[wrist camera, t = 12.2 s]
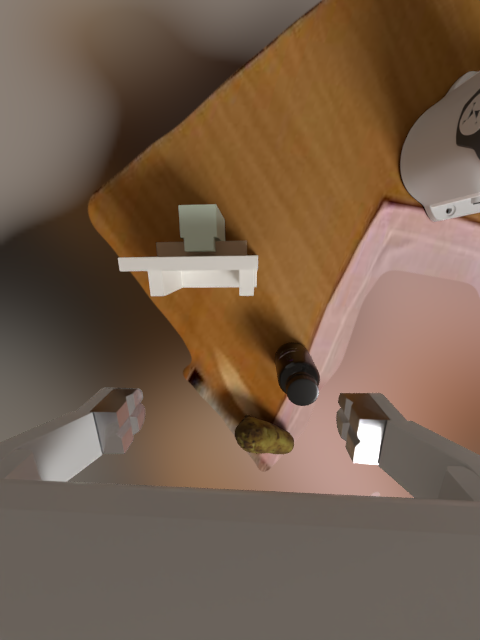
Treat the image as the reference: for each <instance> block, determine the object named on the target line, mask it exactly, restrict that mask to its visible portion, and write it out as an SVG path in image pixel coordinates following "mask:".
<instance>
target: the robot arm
mask: <svg viewBox="0 0 480 640" xmlns="http://www.w3.org/2000/svg"><path fill="white" fill-rule="evenodd" d="M400 169H401V176H402V180H403V183H404V185H405V187H406V189H407V191H408V192H409V193H410V194H411V196H412V197H414V198H415V199H416V200H417V201H419V202H420V203H421V204H422V205H423V206H424V208H425V210H426V212H427V215H428V217H429V218H430V219H431V220H432V221H434V222H438V221H442V220H447V219H452V218H456V217H461V216H466V215H470V214H475V213H480V71H479V72H475V71H470V72H468V73H466V74H464V75H463V76H462V77H460V78H459V79H458V80H457V81H456V82H455V83H454V85H453V86H452V87H451V88H450V90H449V91H448V93H447V94H446V95H445V97H444V98H442V99H441V100H440V101H439V102H437V103H436V104H435V105H433V106H432V107H430V108H429V109H428V110H427V111H426V112H424V113H423V114H422V115H421V116H420V118H419V119H418V120H417V121H416V122H415V124H414V125H413V127H412V128H411V130H410V132H409V134H408V135H407V138H406V140H405V142H404V145H403V149H402V153H401V160H400ZM447 209H448V213H446V210H447ZM142 399H143V395H142V391H141V390H140V389H133V388H102V389H101V390H100V391H99V392H97V393H96V394H95V395H94V396H93V397H92V398H91V399H89V400H88V401H87V402H86V403H85V404H84V405H82V406H81V407H80V408H79V409H78V410H77V411H76V412H70V413H67V414H65V415H63V416H60V417H58V418H56V419H53V420H51V421H49V422H46V423H44V424H42V425H40V426H37V427H35V428H32V429H30V430H28V431H25V432H23V433H21V434H18V435H17V436H14V437H11V438H9V439H7V440H5V441H2V442H0V640H480V455H478V454H476V453H474V452H472V451H470V450H468V449H466V448H464V447H462V446H460V445H458V444H456V443H454V442H452V441H450V440H448V439H446V438H444V437H442V436H441V435H439V434H436V433H435V432H433V431H431V430H429V429H427V428H425V427H423V426H421V425H419V424H417V423H415V422H413V421H407V420H406V419H405V418H404V417H403V416H402V414H400V412H399V411H398V410H397V409H396V408H395V407H394V406H393V405H392V404H391V403H390V402H389V400H388V399H387V398H386V397H385V396H384V395H383V394H381V393H340V395H339V400H338V403H339V405H340V407H341V408H340V409H339V410H338V412H337V418H336V419H337V420H336V421H337V428H338V432H339V434H340V436H341V438H342V439H344V440H345V441H346V449H347V451H348V453H349V455H350V457H351V459H352V462H353V463H364V464H378V466H379V467H380V468H382V469H383V470H384V471H385V472H386V473H387V474H388V475H389V476H391V477H392V478H393V479H394V480H395V481H396V482H397V483H398V484H400V485H401V486H402V487H403V488H404V489H405V490H406V491H408V492H409V493H410V494H411V495H412V496H413V497H414V498H399V497H376V496H355V495H334V494H314V493H294V492H275V491H254V490H231V489H210V488H189V487H167V486H147V485H126V484H105V483H84V482H67V481H68V480H69V479H71V478H72V477H73V476H75V475H76V474H77V473H79V472H80V471H81V470H83V469H84V468H85V467H87V466H88V465H89V464H91V463H92V462H93V461H95V460H96V459H97V458H98V457H100V456H101V455H102V454H125V452H126V451H127V449H128V448H129V446H130V445H131V443H132V441H133V440H134V439H133V435H134V434H135V433H137V432H138V431H140V429H141V427H142V426H143V422H144V419H145V407H144V406H143V405H142V404H141V403H140V402H141V400H142Z"/></svg>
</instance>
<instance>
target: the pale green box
mask: <svg viewBox="0 0 480 640" xmlns="http://www.w3.org/2000/svg"><path fill="white" fill-rule="evenodd" d="M178 208H179V224H180V237H181V238H183V239H184V248H185V251H186V252H216V250H215V241H225V219H224V218H223V216H222V214H221V212H220V210H219V209H218V207H217V205H216V204H207V205H178Z"/></svg>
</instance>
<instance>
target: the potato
mask: <svg viewBox="0 0 480 640" xmlns="http://www.w3.org/2000/svg"><path fill="white" fill-rule="evenodd" d="M235 438H236V440H237V443H238V444H239V445H240V446H241V448H243V449H244V450H245V451H247V452H249V453H250V452H251V453H256V454H257V453H272V454H286V453H289V452H291V451H292V449H293V447H294V439H293V437H292V436H291V435H290V433H288V432H287V431H285V430H283V429H282V428H279V427H278V426H276V425H274V424H272V423H270V422H267V421H263V420H260V419H257V418H254V417H251V416H250V415H246V416H245V418H244V419H243V420H242V421H241V422H240V423H239V425H238V426H237V427H236V429H235Z"/></svg>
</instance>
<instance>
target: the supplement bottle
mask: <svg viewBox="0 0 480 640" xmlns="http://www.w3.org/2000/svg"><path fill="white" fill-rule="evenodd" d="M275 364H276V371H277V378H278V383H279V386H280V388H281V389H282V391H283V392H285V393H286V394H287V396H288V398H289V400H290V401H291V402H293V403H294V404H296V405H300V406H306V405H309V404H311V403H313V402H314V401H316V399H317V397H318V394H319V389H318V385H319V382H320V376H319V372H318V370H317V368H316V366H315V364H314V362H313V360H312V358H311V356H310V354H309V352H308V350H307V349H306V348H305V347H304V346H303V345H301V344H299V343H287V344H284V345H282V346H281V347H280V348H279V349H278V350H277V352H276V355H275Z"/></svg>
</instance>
